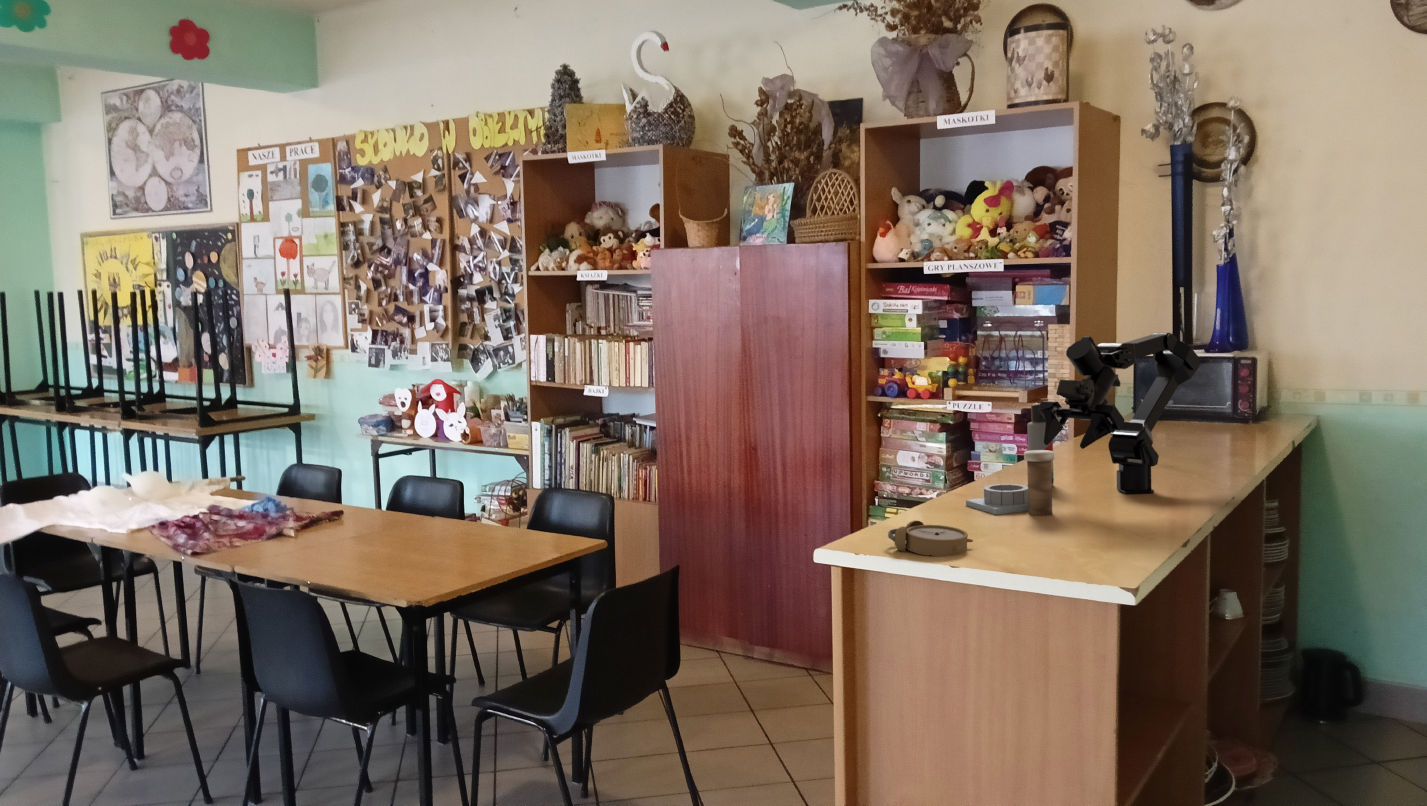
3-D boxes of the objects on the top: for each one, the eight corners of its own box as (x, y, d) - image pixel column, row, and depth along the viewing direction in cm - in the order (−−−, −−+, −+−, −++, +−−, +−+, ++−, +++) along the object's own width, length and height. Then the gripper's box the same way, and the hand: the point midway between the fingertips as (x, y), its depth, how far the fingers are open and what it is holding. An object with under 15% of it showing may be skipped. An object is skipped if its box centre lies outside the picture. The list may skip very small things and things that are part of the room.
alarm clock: (956, 543, 190) (879, 523, 198) (952, 570, 191) (876, 548, 199) (977, 530, 199) (903, 511, 207) (974, 556, 200) (900, 536, 208)
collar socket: (1016, 499, 241) (1016, 480, 240) (1048, 508, 229) (1048, 488, 229) (966, 505, 237) (965, 486, 237) (995, 514, 226) (995, 495, 225)
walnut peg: (1050, 510, 227) (1049, 449, 226) (1058, 515, 221) (1057, 453, 220) (1022, 511, 228) (1020, 450, 227) (1029, 516, 222) (1027, 454, 221)
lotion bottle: (1055, 487, 253) (1053, 403, 251) (1030, 487, 254) (1028, 404, 252) (1052, 483, 258) (1050, 400, 256) (1027, 483, 259) (1025, 401, 257)
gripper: (1041, 364, 237) (1009, 419, 232) (1115, 366, 221) (1082, 424, 216) (1065, 396, 242) (1034, 450, 237) (1138, 400, 227) (1107, 458, 221)
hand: (1063, 445), depth 228 cm, fingers open, 9 cm apart
